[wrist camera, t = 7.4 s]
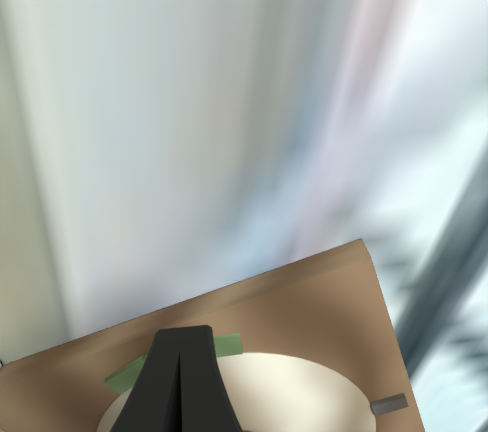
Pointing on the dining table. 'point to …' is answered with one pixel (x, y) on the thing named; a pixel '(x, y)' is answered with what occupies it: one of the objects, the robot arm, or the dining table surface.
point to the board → (242, 356)
